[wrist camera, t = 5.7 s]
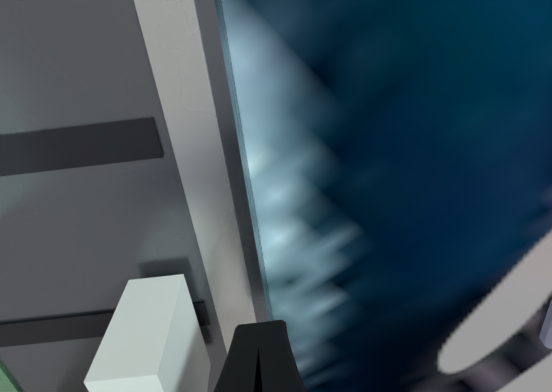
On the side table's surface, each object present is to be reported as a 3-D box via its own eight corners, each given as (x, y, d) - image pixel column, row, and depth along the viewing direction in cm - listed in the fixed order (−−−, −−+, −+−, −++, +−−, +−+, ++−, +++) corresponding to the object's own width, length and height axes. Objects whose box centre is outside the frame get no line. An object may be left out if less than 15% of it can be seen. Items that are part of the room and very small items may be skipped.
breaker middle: (183, 274, 11) (157, 374, 8) (210, 364, 13) (196, 469, 10) (128, 280, 11) (83, 382, 8) (164, 368, 13) (137, 475, 10)
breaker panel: (215, -38, 9) (206, -41, 7) (290, 425, 18) (292, 461, 17) (-242, 21, 9) (-333, 28, 8) (65, 447, 18) (49, 485, 17)
